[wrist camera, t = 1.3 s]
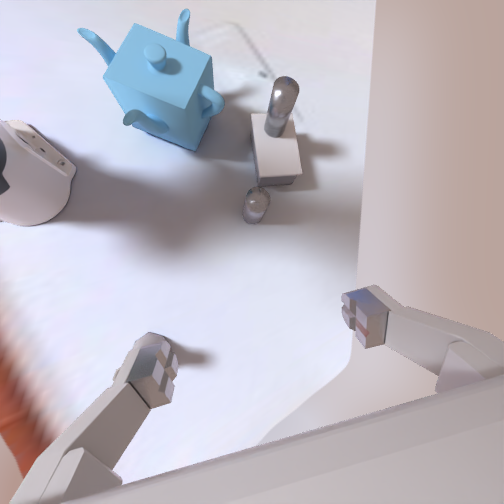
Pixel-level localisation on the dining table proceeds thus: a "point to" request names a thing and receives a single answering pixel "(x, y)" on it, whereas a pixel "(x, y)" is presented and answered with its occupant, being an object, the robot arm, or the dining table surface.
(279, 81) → the cylinder
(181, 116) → the teakettle
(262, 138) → the scale
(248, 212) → the ball
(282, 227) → the dining table surface
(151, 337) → the flask
